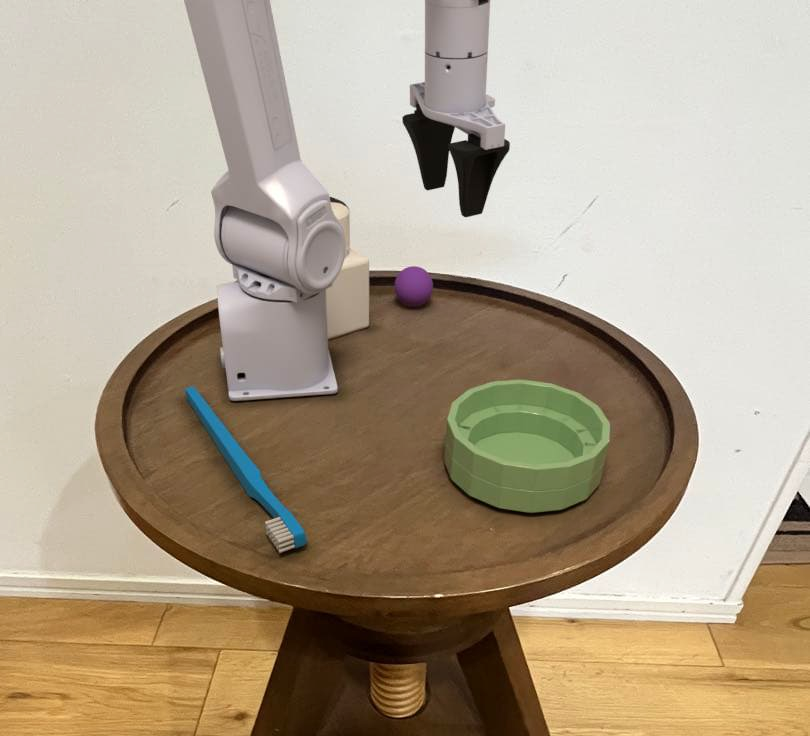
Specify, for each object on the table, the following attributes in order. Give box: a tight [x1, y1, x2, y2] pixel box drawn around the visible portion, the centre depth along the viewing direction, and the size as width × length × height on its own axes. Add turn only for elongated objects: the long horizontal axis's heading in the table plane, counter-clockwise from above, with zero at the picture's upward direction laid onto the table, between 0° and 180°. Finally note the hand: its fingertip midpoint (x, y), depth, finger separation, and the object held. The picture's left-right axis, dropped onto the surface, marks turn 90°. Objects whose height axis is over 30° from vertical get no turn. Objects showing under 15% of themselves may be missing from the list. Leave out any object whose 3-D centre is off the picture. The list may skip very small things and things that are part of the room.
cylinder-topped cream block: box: [326, 196, 370, 341], centre depth 81 cm, size 7×7×12 cm
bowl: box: [443, 378, 611, 514], centre depth 66 cm, size 12×12×4 cm
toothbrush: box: [184, 386, 308, 554], centre depth 66 cm, size 23×2×2 cm
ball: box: [393, 265, 434, 308], centre depth 88 cm, size 4×4×4 cm
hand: (452, 200), depth 86 cm, fingers open, 7 cm apart
